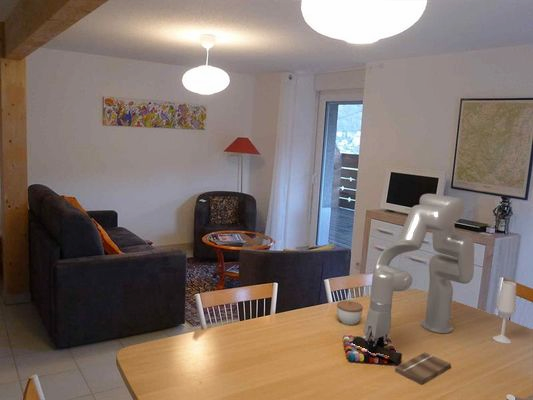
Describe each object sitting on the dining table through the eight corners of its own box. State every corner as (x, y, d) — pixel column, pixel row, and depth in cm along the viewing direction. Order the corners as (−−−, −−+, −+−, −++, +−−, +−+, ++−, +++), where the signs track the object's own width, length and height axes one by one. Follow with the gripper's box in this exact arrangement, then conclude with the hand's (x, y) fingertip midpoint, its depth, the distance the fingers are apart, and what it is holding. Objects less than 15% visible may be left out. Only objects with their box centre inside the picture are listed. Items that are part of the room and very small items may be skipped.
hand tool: (402, 362, 161) (403, 350, 161) (397, 366, 158) (398, 353, 158) (355, 344, 174) (356, 333, 173) (350, 347, 171) (351, 336, 170)
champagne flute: (496, 334, 190) (503, 279, 187) (513, 340, 185) (521, 283, 182) (490, 338, 185) (497, 282, 182) (507, 344, 181) (515, 286, 177)
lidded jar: (366, 323, 194) (368, 302, 192) (350, 329, 187) (352, 307, 185) (346, 315, 202) (348, 295, 200) (330, 320, 195) (332, 299, 193)
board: (424, 356, 167) (425, 352, 167) (450, 367, 160) (451, 363, 159) (394, 371, 155) (395, 367, 154) (421, 384, 147) (422, 380, 147)
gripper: (385, 297, 171) (380, 343, 174) (357, 306, 160) (353, 355, 163) (402, 304, 166) (397, 351, 168) (375, 313, 155) (370, 364, 157)
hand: (375, 353), depth 166 cm, fingers closed on hand tool, 3 cm apart
